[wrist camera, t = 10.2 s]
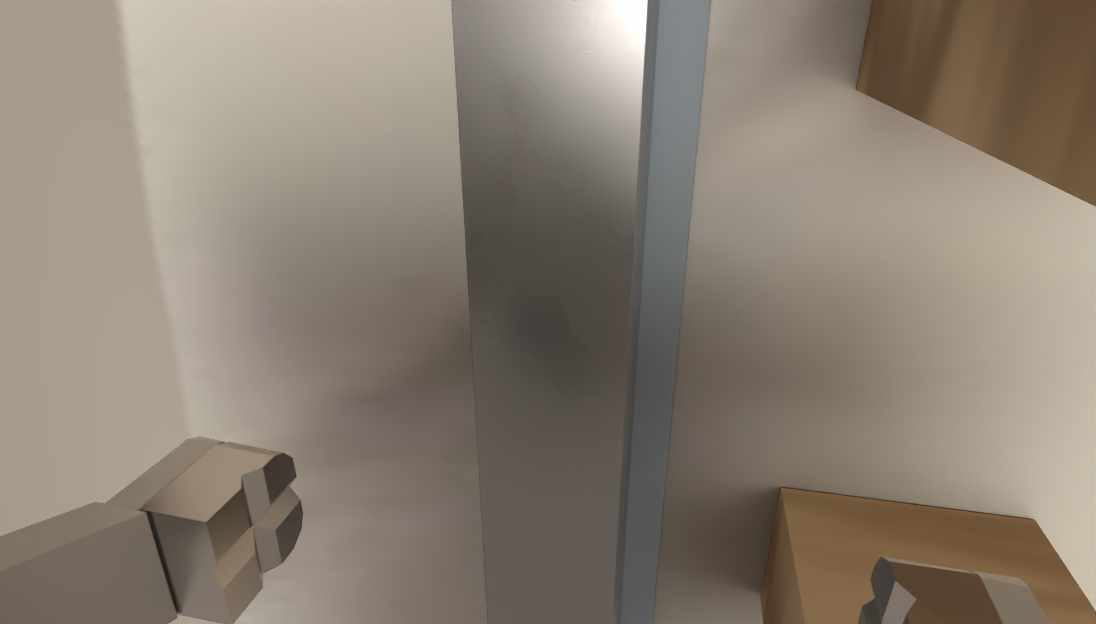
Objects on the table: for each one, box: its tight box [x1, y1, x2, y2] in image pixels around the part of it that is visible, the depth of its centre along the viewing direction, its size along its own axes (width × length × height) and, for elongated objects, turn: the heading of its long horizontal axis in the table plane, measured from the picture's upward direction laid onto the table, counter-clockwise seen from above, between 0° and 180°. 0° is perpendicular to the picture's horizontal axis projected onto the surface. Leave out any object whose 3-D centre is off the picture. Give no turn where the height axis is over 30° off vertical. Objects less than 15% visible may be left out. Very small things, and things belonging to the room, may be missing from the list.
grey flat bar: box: [620, 0, 711, 624], centre depth 16 cm, size 26×5×1 cm, turn 0°
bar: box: [451, 0, 660, 624], centre depth 14 cm, size 22×3×4 cm, turn 0°
